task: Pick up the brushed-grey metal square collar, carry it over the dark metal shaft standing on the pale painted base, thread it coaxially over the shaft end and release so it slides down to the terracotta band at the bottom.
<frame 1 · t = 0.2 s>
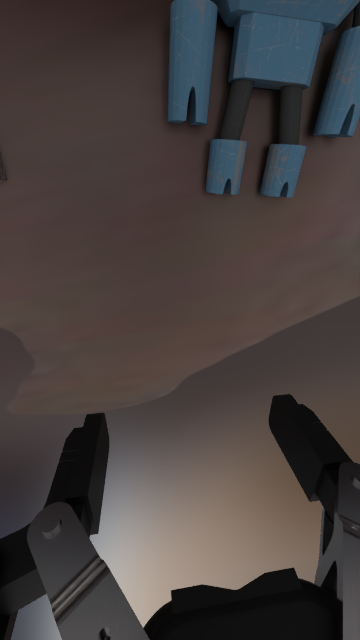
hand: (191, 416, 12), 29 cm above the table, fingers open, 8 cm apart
toy: (262, 55, 30), on the table
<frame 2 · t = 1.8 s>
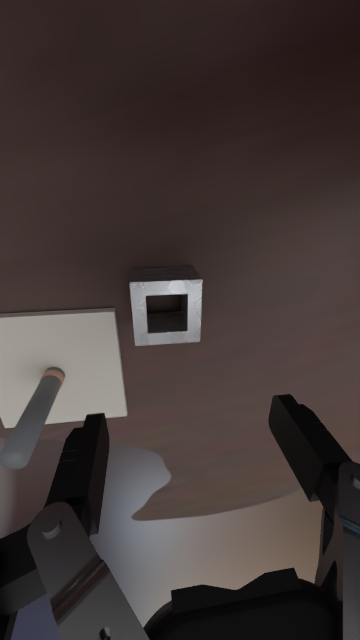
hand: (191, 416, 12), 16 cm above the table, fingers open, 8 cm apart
collar: (163, 296, 26), on the table
post: (57, 369, 28), on the table
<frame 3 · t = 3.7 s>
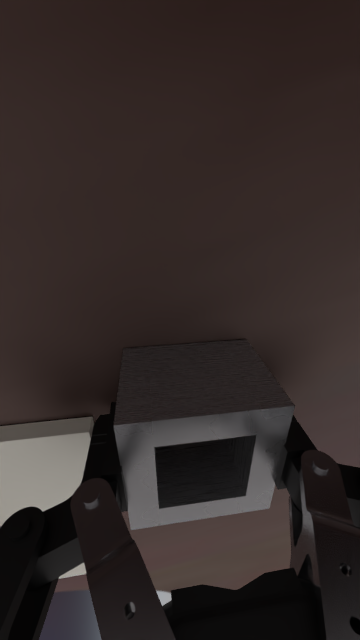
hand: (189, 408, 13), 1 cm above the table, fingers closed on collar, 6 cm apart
collar: (186, 392, 14), on the table, touching gripper
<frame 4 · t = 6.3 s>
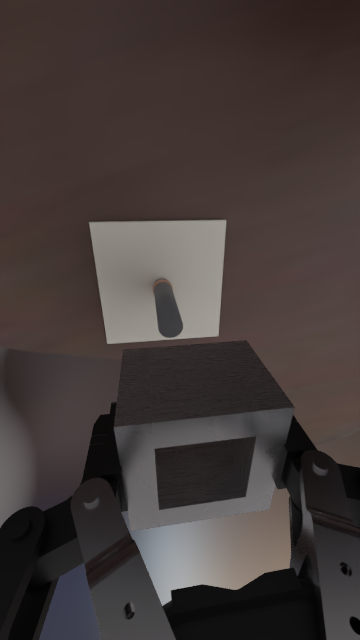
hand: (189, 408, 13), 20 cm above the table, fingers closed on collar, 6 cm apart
collar: (186, 393, 14), point 19 cm above the table, touching gripper
post: (161, 284, 30), on the table
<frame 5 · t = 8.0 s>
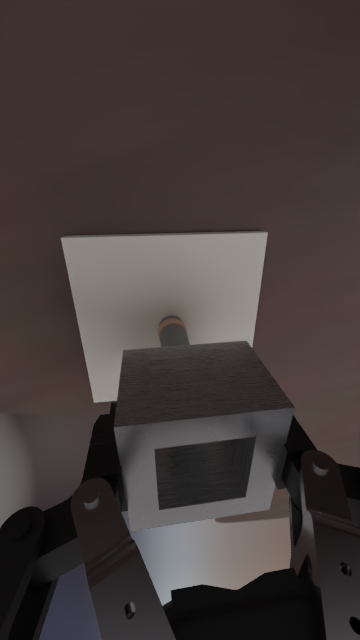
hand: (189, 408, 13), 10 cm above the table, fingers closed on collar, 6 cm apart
collar: (186, 393, 14), point 9 cm above the table, touching gripper
post: (170, 321, 21), on the table
when the fingers open (6 cm above the table, at t = 9.3 s): collar drops 4 cm, resting on post.
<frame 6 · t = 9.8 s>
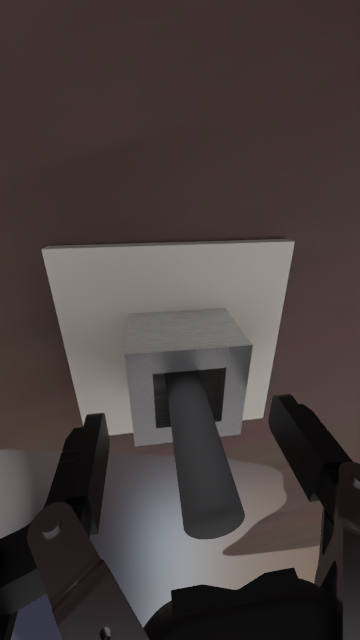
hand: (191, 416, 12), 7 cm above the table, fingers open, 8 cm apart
collar: (178, 351, 17), point 1 cm above the table, touching post
post: (175, 344, 18), on the table
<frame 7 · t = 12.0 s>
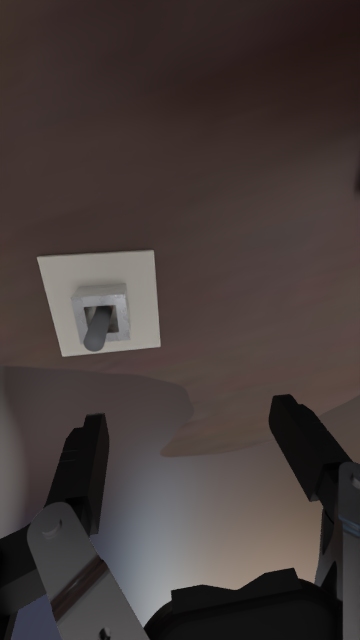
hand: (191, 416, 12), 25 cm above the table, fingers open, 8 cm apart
collar: (106, 306, 34), point 1 cm above the table, touching post
post: (106, 304, 35), on the table
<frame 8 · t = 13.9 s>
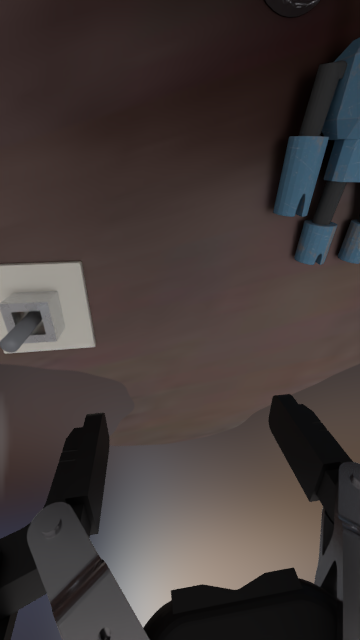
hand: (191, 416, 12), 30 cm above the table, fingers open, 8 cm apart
collar: (40, 310, 39), point 1 cm above the table, touching post
post: (42, 308, 40), on the table
toy: (348, 152, 36), on the table
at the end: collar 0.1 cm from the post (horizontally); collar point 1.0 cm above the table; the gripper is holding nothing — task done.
